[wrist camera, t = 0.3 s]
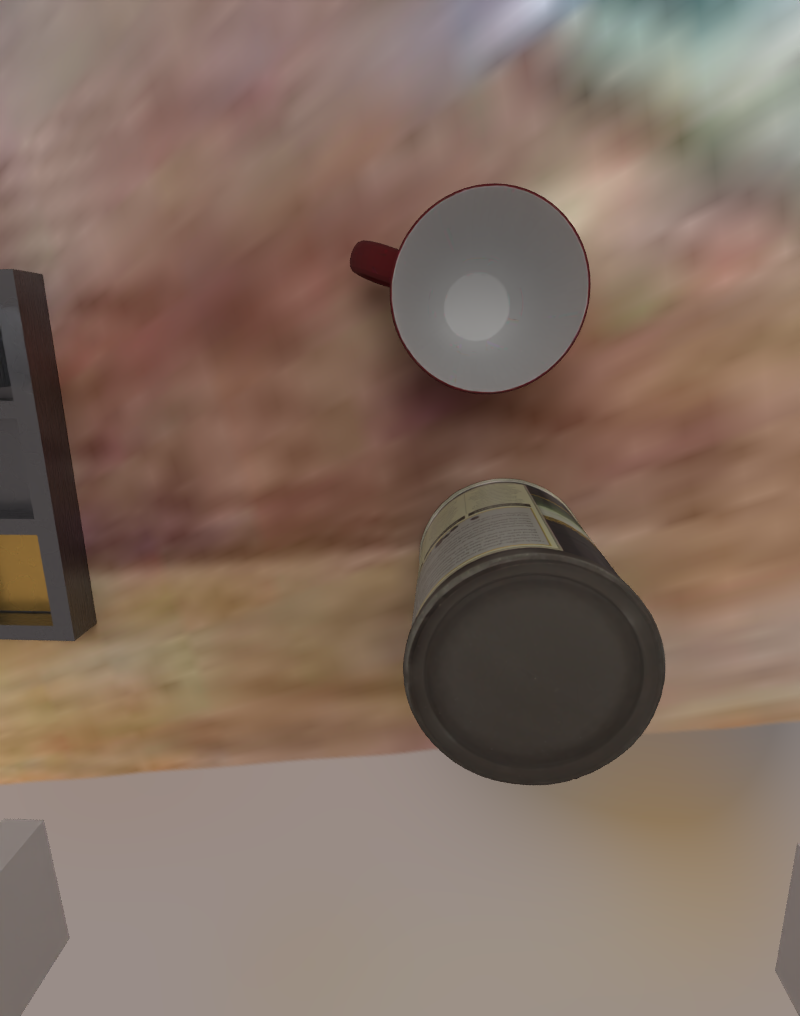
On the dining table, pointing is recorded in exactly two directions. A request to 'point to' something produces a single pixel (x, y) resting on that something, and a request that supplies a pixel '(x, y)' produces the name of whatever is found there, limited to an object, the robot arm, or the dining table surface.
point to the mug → (484, 287)
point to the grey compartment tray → (37, 481)
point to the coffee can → (526, 640)
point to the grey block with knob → (3, 365)
